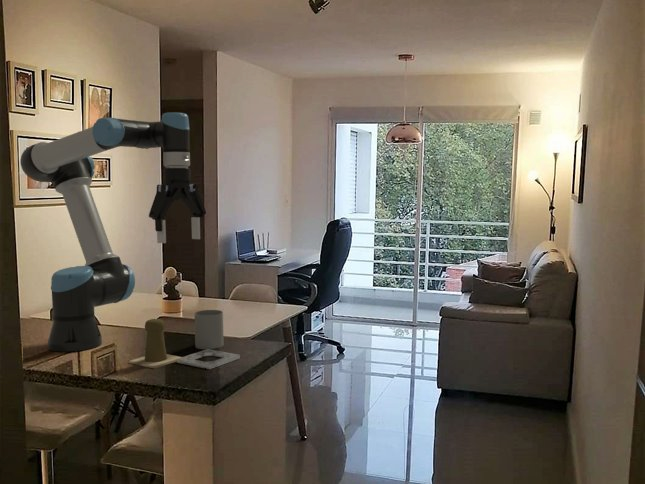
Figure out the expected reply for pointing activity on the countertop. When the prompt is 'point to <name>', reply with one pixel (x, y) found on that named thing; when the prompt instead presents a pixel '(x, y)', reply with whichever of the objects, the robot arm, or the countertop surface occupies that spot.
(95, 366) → the countertop surface
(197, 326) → the cup
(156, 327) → the pepper shaker
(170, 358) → the coaster
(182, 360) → the plate
